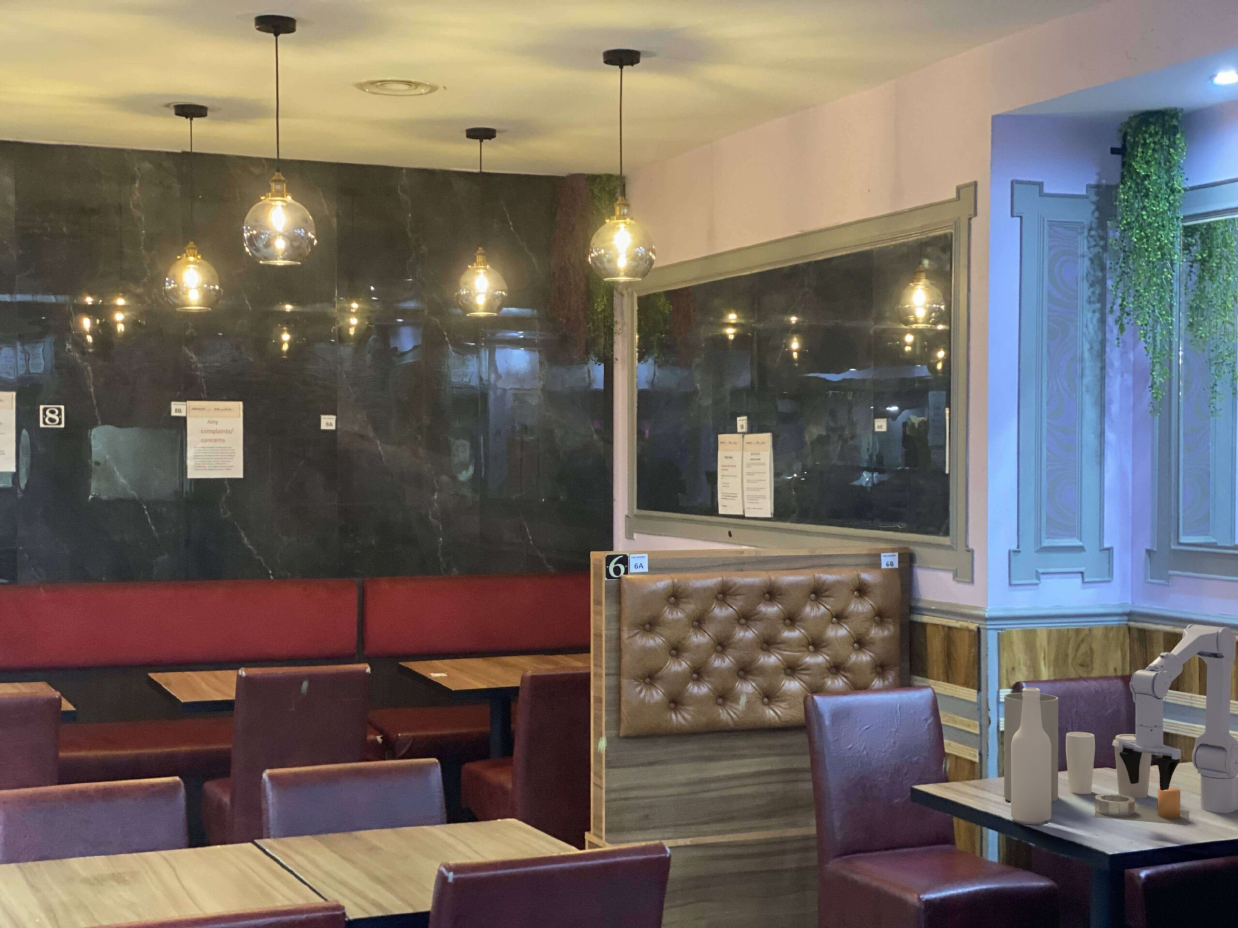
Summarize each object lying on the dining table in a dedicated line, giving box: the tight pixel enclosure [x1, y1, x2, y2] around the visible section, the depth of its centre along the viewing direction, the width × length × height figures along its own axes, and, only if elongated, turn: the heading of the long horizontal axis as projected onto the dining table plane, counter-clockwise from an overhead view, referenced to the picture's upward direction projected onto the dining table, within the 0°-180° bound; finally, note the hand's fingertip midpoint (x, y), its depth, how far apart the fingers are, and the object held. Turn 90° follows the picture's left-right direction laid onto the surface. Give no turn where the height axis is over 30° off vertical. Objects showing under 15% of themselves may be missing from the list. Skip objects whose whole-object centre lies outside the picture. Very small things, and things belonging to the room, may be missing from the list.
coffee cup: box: [1111, 733, 1153, 799], centre depth 348 cm, size 10×10×15 cm
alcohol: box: [1010, 687, 1052, 826], centre depth 327 cm, size 9×9×30 cm
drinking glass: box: [1065, 731, 1096, 795], centre depth 351 cm, size 7×7×15 cm
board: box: [1093, 805, 1190, 826], centre depth 329 cm, size 20×14×1 cm
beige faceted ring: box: [1094, 793, 1136, 816], centre depth 331 cm, size 9×9×3 cm
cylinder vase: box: [1003, 692, 1059, 803], centre depth 346 cm, size 12×12×25 cm
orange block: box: [1157, 787, 1181, 819], centre depth 327 cm, size 5×5×6 cm
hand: (1149, 786), depth 317 cm, fingers open, 7 cm apart
